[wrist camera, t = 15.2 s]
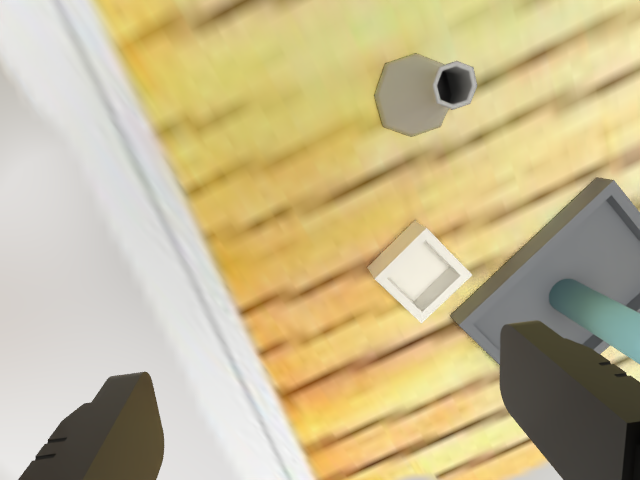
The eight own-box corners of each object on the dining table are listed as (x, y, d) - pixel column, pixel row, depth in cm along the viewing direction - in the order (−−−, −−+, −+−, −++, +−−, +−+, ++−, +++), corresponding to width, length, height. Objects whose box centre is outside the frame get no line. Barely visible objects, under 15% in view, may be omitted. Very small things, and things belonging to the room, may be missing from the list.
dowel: (568, 271, 45) (659, 316, 34) (588, 293, 46) (683, 344, 35) (542, 296, 45) (624, 348, 35) (562, 317, 46) (648, 374, 35)
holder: (414, 220, 43) (426, 227, 39) (457, 263, 44) (472, 275, 41) (367, 267, 43) (374, 278, 40) (410, 308, 45) (421, 323, 42)
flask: (453, 54, 39) (510, 29, 30) (447, 136, 41) (499, 138, 31) (375, 52, 39) (406, 27, 29) (372, 136, 40) (401, 139, 31)
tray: (596, 177, 43) (613, 180, 41) (669, 268, 47) (689, 275, 44) (449, 315, 46) (458, 325, 43) (529, 393, 49) (541, 405, 47)
